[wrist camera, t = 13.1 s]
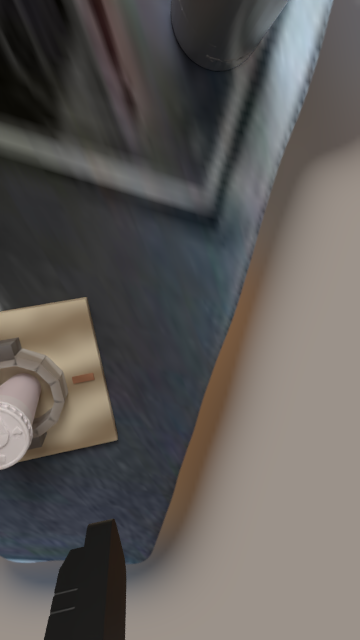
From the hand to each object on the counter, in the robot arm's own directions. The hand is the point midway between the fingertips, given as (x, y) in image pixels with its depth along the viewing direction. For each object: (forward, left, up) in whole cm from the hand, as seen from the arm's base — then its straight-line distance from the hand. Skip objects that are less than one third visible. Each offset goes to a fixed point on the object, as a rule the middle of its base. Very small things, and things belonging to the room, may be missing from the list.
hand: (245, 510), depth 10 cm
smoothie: (+6, -16, -28) cm, 33 cm away
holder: (+6, -17, -29) cm, 34 cm away
